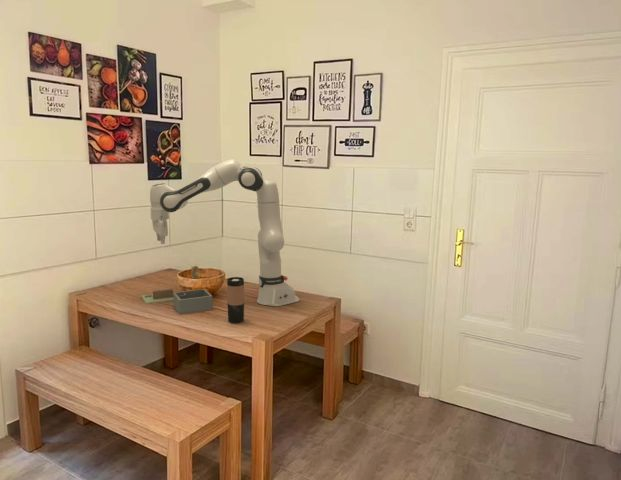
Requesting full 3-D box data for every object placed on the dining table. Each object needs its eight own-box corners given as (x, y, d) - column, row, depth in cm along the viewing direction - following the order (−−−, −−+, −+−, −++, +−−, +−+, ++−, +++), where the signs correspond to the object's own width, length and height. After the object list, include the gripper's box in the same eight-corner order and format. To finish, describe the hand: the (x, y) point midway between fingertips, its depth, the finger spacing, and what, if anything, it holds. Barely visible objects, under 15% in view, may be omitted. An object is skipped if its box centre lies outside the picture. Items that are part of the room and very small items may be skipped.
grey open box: (204, 303, 242) (204, 288, 240) (212, 311, 230) (212, 296, 228) (173, 307, 234) (172, 292, 233) (179, 316, 222) (179, 300, 221)
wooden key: (197, 297, 252) (196, 265, 249) (199, 298, 250) (198, 266, 247) (192, 298, 251) (191, 266, 248) (193, 299, 248) (192, 267, 245)
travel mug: (247, 319, 220) (246, 278, 216) (239, 324, 213) (238, 282, 209) (232, 317, 222) (232, 276, 219) (224, 322, 215) (223, 280, 212)
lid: (172, 294, 257) (172, 284, 256) (178, 301, 245) (177, 291, 244) (141, 298, 249) (141, 288, 248) (146, 305, 237) (145, 295, 236)
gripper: (170, 217, 231) (171, 245, 233) (162, 213, 249) (163, 238, 251) (157, 218, 228) (158, 246, 230) (150, 213, 246) (151, 239, 248)
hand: (160, 242), depth 241 cm, fingers open, 8 cm apart
